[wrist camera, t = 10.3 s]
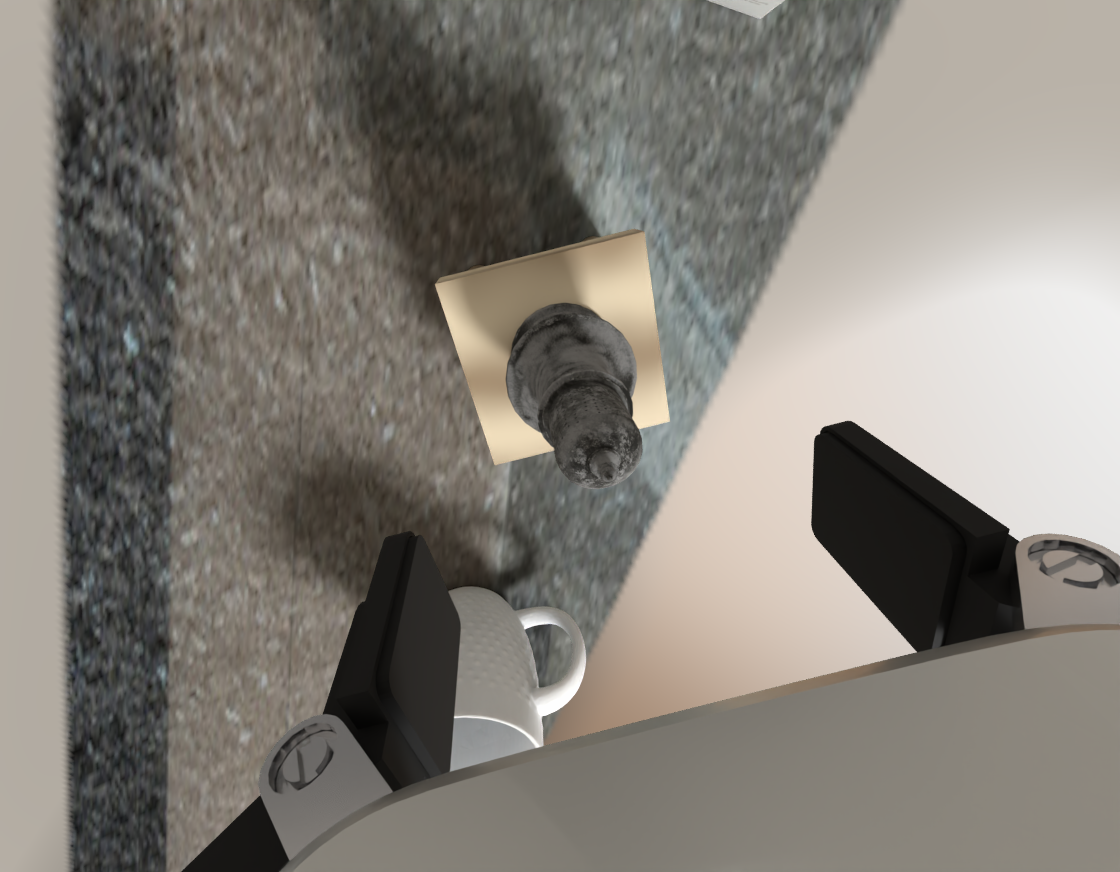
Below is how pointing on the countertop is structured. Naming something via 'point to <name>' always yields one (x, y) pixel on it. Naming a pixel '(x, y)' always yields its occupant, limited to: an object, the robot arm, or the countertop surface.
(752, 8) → the skincare box
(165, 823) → the countertop surface
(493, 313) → the stool
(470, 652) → the mug
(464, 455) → the countertop surface
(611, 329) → the salt shaker
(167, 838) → the countertop surface
